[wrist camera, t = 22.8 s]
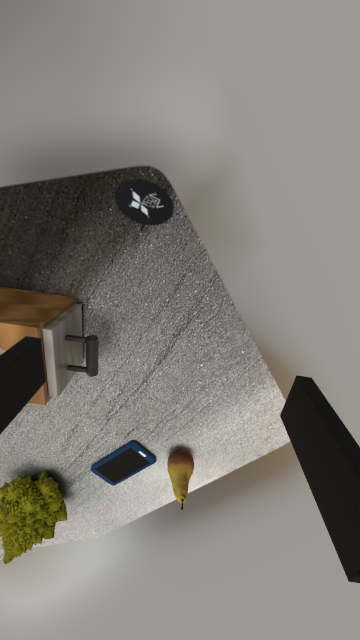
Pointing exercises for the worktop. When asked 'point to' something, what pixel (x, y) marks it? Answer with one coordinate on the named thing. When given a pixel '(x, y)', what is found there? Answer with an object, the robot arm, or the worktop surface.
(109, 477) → the cell phone
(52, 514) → the vegetable
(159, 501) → the worktop surface
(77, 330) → the drawer
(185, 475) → the fruit
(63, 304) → the cabinet
